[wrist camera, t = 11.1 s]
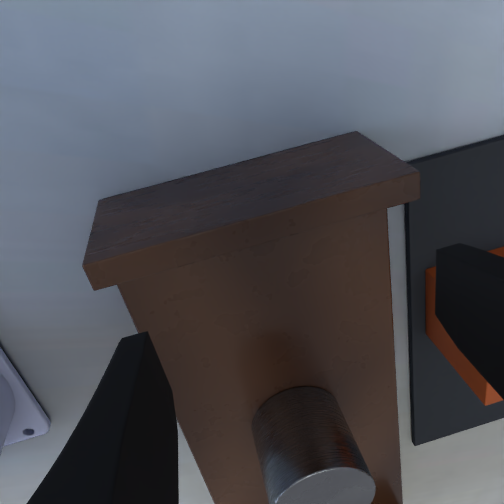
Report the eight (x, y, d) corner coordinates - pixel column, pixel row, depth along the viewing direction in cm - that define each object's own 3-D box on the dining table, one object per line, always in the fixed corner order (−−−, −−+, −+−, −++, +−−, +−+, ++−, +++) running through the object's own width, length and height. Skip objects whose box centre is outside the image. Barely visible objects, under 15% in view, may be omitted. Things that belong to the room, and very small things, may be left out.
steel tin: (260, 459, 24) (282, 548, 20) (242, 402, 22) (262, 490, 18) (343, 434, 24) (379, 516, 20) (333, 374, 22) (372, 455, 18)
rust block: (425, 333, 25) (484, 406, 20) (424, 268, 23) (491, 334, 18) (498, 311, 25) (573, 378, 21) (505, 245, 23) (591, 304, 18)
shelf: (238, 532, 32) (253, 620, 27) (98, 199, 18) (81, 265, 14) (386, 484, 32) (424, 562, 28) (356, 130, 19) (421, 171, 14)
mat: (411, 441, 30) (414, 446, 30) (403, 162, 20) (407, 165, 20) (548, 397, 31) (553, 402, 31) (608, 106, 21) (616, 108, 20)
